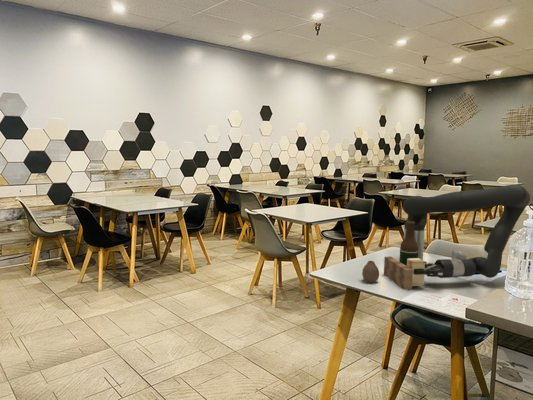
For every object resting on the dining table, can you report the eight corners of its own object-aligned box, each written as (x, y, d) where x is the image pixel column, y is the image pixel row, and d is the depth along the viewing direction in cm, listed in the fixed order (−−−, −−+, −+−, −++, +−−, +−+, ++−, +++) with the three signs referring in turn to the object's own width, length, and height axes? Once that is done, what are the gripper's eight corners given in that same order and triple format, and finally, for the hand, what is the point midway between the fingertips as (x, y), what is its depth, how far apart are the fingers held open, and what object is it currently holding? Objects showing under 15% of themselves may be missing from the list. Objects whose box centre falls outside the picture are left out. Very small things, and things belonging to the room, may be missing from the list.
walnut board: (383, 273, 183) (384, 256, 182) (390, 273, 183) (390, 256, 182) (404, 289, 163) (405, 270, 162) (411, 289, 163) (412, 269, 162)
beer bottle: (417, 272, 185) (420, 220, 182) (416, 277, 178) (419, 223, 175) (399, 270, 188) (402, 219, 185) (397, 275, 181) (400, 222, 178)
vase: (375, 285, 168) (376, 264, 167) (359, 282, 171) (360, 262, 170) (380, 280, 174) (381, 260, 172) (365, 277, 177) (365, 258, 176)
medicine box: (465, 274, 183) (466, 255, 182) (454, 273, 184) (456, 254, 183) (460, 268, 191) (462, 251, 190) (450, 268, 192) (451, 250, 191)
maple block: (406, 282, 168) (407, 258, 167) (417, 281, 169) (418, 258, 168) (411, 286, 163) (413, 262, 162) (423, 285, 164) (425, 261, 163)
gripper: (440, 254, 174) (402, 255, 172) (460, 264, 160) (420, 265, 157) (439, 271, 175) (401, 273, 172) (459, 282, 161) (418, 284, 158)
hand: (410, 269), depth 165 cm, fingers closed on maple block, 5 cm apart
